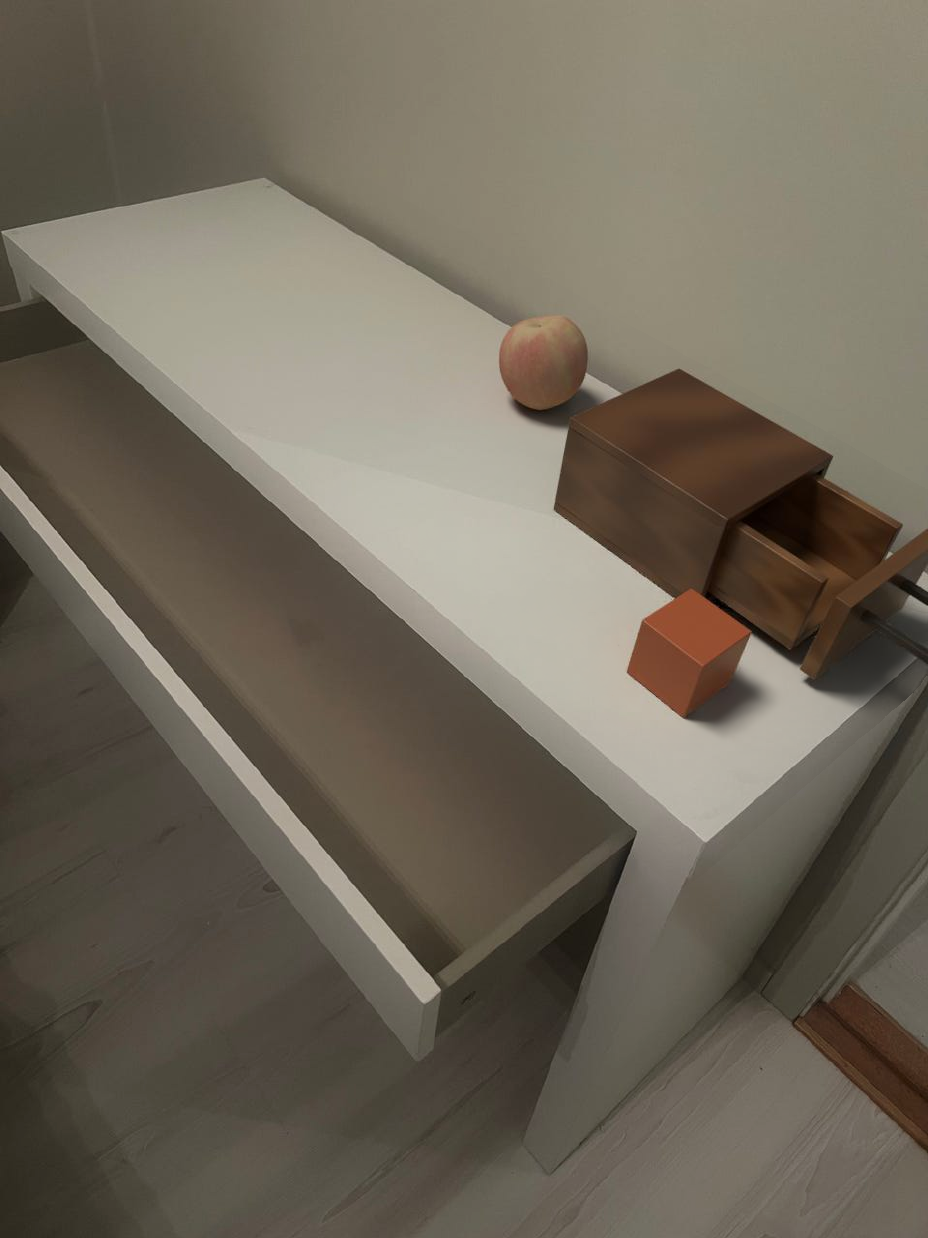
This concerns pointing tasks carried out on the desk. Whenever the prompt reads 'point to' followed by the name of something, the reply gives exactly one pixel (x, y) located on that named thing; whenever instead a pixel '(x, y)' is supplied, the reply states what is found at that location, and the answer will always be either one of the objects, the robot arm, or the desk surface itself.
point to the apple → (543, 361)
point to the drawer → (820, 572)
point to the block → (687, 651)
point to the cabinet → (675, 475)
